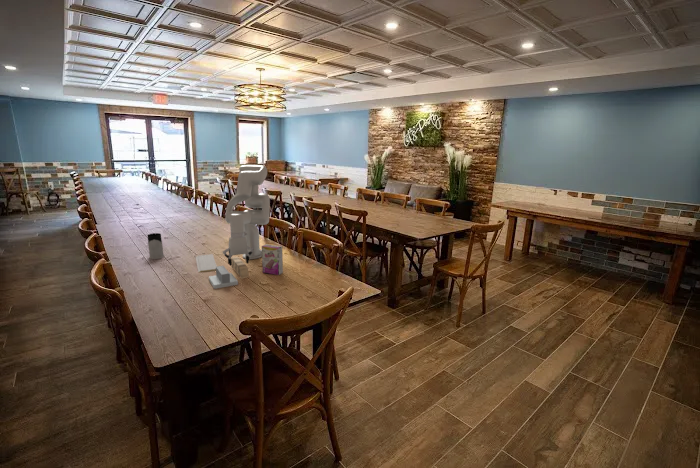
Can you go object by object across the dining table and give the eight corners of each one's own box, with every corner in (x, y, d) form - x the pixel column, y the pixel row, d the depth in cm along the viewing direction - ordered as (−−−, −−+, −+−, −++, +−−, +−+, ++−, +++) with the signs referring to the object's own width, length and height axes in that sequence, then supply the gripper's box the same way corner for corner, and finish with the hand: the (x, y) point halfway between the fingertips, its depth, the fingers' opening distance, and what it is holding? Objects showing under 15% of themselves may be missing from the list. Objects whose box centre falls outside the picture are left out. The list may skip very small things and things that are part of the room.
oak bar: (231, 267, 209) (231, 257, 208) (238, 266, 211) (238, 256, 210) (241, 278, 191) (240, 268, 190) (248, 277, 193) (248, 267, 192)
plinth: (231, 276, 194) (230, 264, 192) (238, 284, 182) (237, 272, 181) (208, 279, 188) (207, 267, 186) (214, 288, 176) (213, 275, 174)
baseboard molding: (195, 273, 198) (217, 271, 203) (195, 269, 197) (217, 266, 202) (193, 258, 225) (212, 256, 230) (192, 253, 224) (212, 252, 229)
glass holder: (148, 259, 218) (145, 236, 214) (150, 253, 230) (148, 231, 227) (163, 258, 221) (161, 235, 218) (165, 252, 234) (163, 230, 230)
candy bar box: (262, 273, 200) (260, 246, 196) (266, 270, 204) (265, 243, 201) (278, 275, 196) (278, 248, 192) (283, 272, 201) (282, 246, 197)
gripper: (250, 232, 203) (251, 260, 207) (220, 235, 194) (221, 264, 198) (254, 234, 197) (255, 263, 200) (223, 237, 188) (225, 267, 191)
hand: (238, 263), depth 199 cm, fingers open, 9 cm apart
